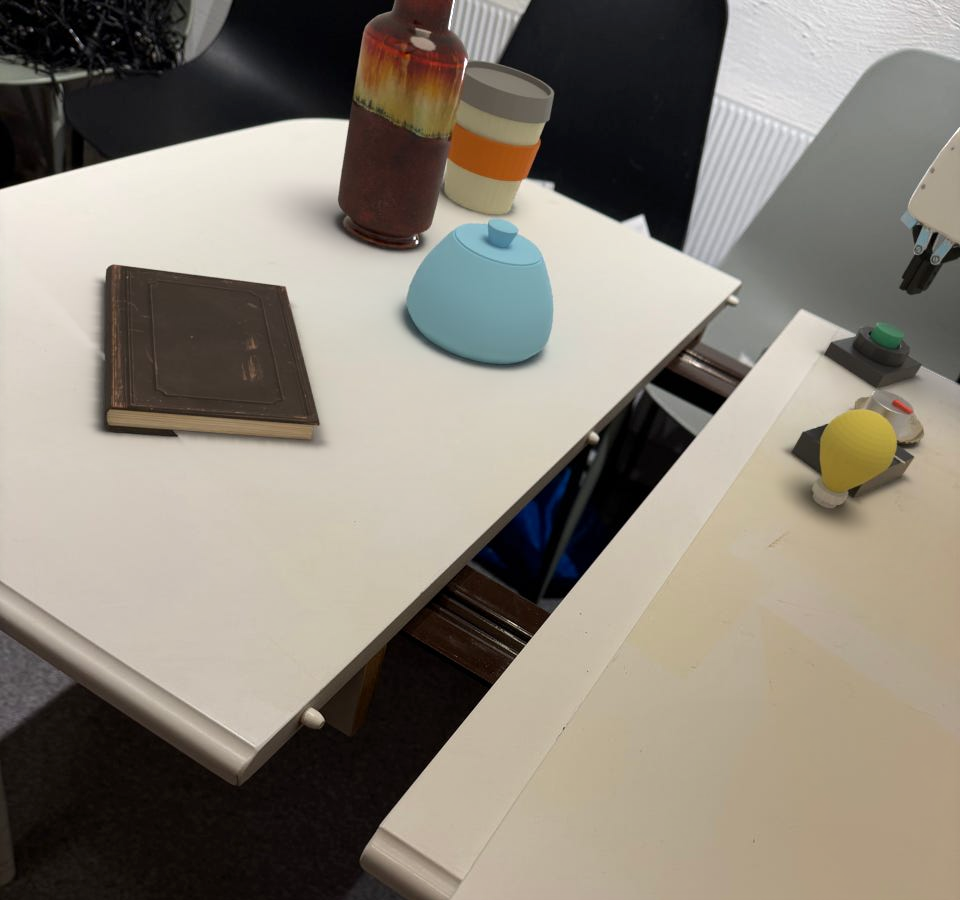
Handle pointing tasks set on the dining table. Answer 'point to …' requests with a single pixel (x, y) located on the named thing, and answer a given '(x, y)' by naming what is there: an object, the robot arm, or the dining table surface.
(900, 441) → the seashell
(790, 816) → the dining table surface
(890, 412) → the program dial
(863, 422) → the light bulb
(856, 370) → the block
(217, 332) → the hardcover book
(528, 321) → the sugar bowl
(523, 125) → the reusable coffee cup
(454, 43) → the vase
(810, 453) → the washer panel
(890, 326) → the button
